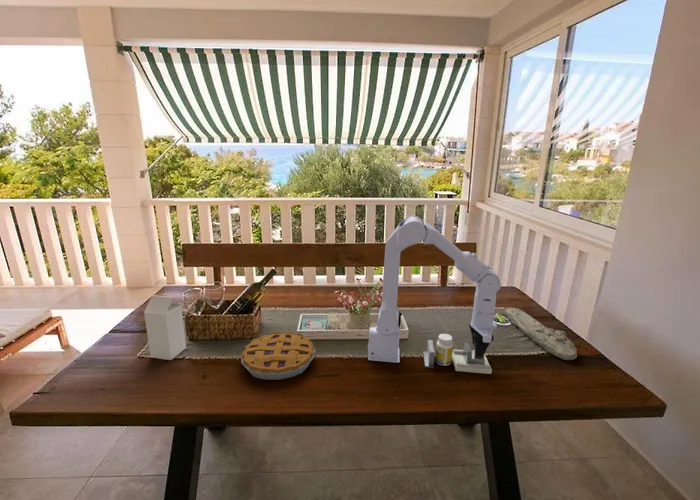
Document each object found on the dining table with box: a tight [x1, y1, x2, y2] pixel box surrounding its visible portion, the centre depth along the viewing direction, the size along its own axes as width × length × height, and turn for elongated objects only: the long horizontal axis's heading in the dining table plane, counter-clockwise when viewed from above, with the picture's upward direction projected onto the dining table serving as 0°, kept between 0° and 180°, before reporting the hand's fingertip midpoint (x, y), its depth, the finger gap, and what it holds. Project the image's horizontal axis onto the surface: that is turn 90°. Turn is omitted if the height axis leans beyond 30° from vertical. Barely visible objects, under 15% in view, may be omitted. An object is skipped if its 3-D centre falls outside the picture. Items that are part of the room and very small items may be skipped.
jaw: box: [422, 339, 436, 369], centre depth 107 cm, size 2×8×5 cm, turn 173°
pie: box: [240, 331, 316, 381], centre depth 105 cm, size 22×22×5 cm
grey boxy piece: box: [462, 341, 485, 365], centre depth 105 cm, size 5×6×6 cm
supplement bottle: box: [434, 333, 454, 367], centre depth 106 cm, size 5×5×8 cm
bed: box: [452, 348, 493, 375], centre depth 106 cm, size 10×9×2 cm
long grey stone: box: [504, 306, 578, 361], centre depth 124 cm, size 35×5×10 cm
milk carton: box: [143, 294, 187, 361], centre depth 107 cm, size 7×7×19 cm
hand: (478, 352), depth 104 cm, fingers closed on grey boxy piece, 3 cm apart
